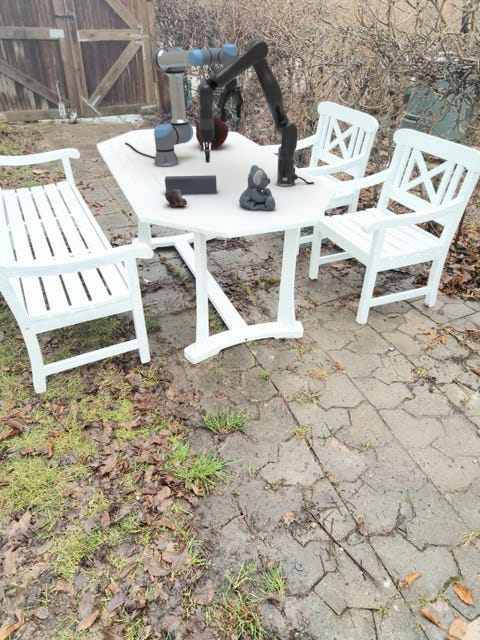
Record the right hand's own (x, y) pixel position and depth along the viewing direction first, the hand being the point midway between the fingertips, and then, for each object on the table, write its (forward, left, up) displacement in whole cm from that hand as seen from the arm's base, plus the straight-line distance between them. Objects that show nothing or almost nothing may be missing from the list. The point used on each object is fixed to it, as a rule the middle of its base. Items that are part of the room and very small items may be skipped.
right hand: (207, 160), depth 237 cm
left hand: (-21, -28, +14) cm, 38 cm away
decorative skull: (-27, -96, -17) cm, 101 cm away
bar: (+9, -3, -17) cm, 20 cm away
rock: (+21, +14, -17) cm, 31 cm away
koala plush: (-18, +28, -17) cm, 38 cm away
